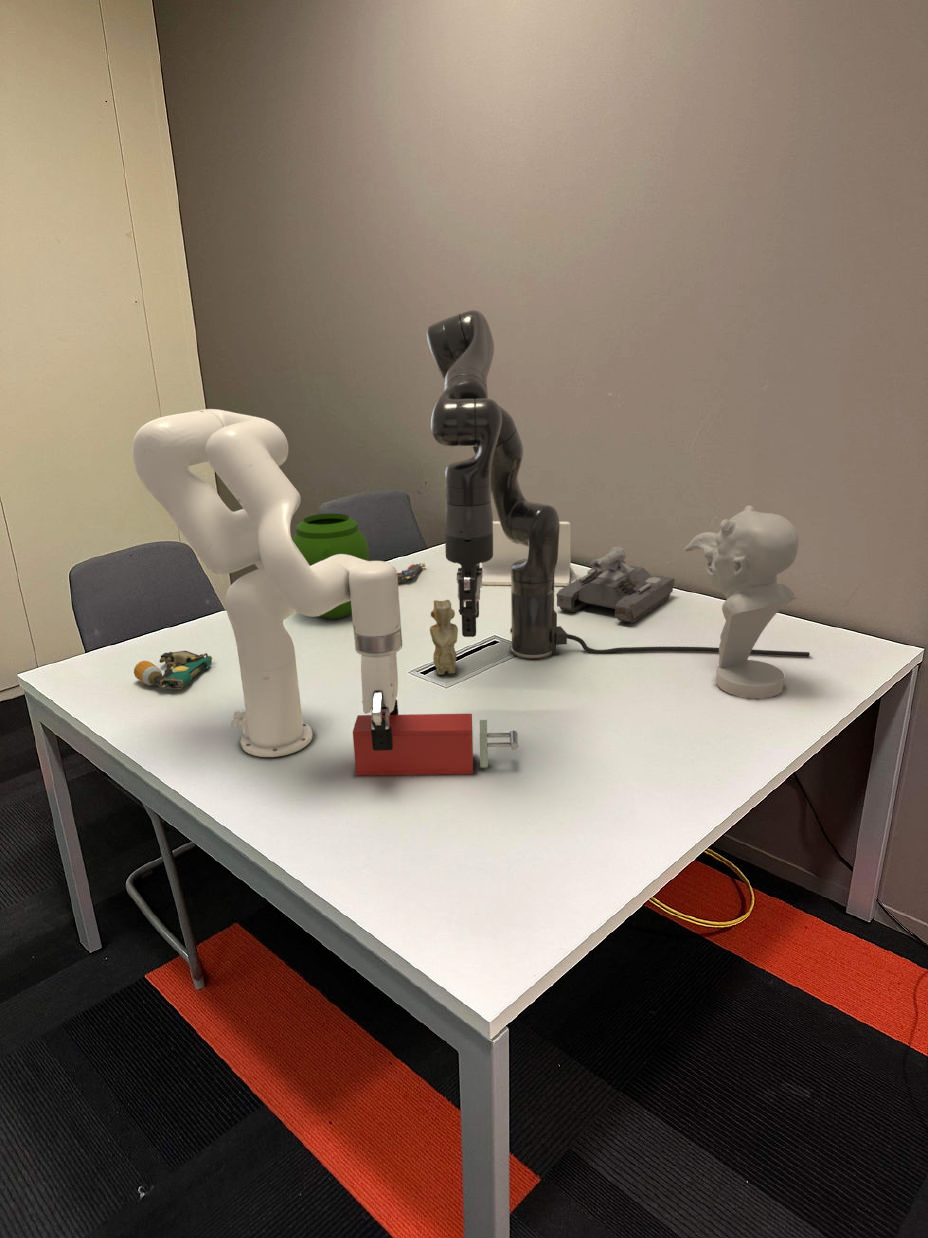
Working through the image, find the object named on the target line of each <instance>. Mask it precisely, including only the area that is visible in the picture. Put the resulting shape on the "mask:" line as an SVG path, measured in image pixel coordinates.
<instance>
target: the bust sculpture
mask: <svg viewBox="0 0 928 1238" xmlns="http://www.w3.org/2000/svg"><path fill="white" fill-rule="evenodd" d="M719 528H720V529H719V531H718V532H713V531H705V532H701V533H699V534H697V535H695V536H694V537H693V538H692V539H691V541H690V542H689V543H688V544H687V545H686V546H685V547H684V551H685V552H692V551H696V550H702V551H703V553H704V557H705V559H706V560H707V561H708V562H707V563H706V564H705V570H706V573H707V576H708V577H709V580H710V581H711V583H712V586H714V588H715V589H717V591H719V592H720V593H721V594H722V595H723V596H724V597H726V600H725V601H724V602H723V604H722V606H721V611H722V615H723V617H724V619H725V622H724V625H723V627H722V631H721V633H720V642H719V645H718V646H719V647H718V648H719V652H718V666H717V668H716V675H715V684H716V685H717V687H718V688H720V690H722V691H723V692H726V693H728V694H731V695H733V696H737V697H740V698H741V697H742V698H748V699H766V698H771V697H775V696H778V695H779V694H781V693H782V692H783V690H784V686H785V685H784V684H785V673H784V672H783V670H782V669H780V668H779V667H777V666H775V665H773V664H771V663H768V662H765V661H760V660H754V659H749V657H750V655H751V654H750V653H751V651H752V649H753V650H754V647H755V645H756V643H757V642H758V640H759V638H760V637H761V634H762V633H763V632H764V631H765V628H766V627H768V624H769V623H770V622H771V620H772V619H773V618H774V617H775V616H776V615H777V614H778V613H779V612H780V611H781V610H782V609H783V608H784V607H786V606H787V605H788V604H790V603H791V602H792V601H795V600H797V599H798V597H797V595H796V594H795V592H794V591H793V590H792V588H791V587H789V586H788V585H786V584H782V583H779V582H778V581H777V580H778V576H777V575H779V574H781V573H783V572H785V571H786V570H788V569H789V568H790V567H791V566H792V565H793V563H794V562H795V560H796V558H797V556H798V551H799V535H798V532H797V530H796V527H795V525H793V524H792V522H791V521H790V520H789V519H787V518H786V517H784V516H783V515H781V514H777V513H770V512H760V511H756V510H755V508H754V506H753V505H746V506H745V507H744V509H743V510H742V511H740V512H739V513H737V514H735V515H733V516H732V517H731V518H730V519H728V518H725V519H723V520H721V521H720V525H719Z"/></svg>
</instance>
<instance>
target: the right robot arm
mask: <svg viewBox="0 0 928 1238" xmlns="http://www.w3.org/2000/svg"><path fill="white" fill-rule="evenodd" d="M426 340H427V344H428V348H429V351H430V354H431V356H432V358H433V360H434V363H435V365H436V367H437V369H438V371H439V373H440V375H441V377H442V379H443V393H442V394H441V395H440V397H439V398H438V400H436V402H435V404H434V406H433V409H432V411H431V412H432V413H431V417H430V430H431V434H432V436H433V439H434V440H435V441H436V442H437V443H438V444H440V445H441V446H443V447H446V448H462V447H463V448H465V447H472V449H473V452H474V455H473V456H471V457H470V458H466V459H463V460H459V461H456V462H452V463H450V464H448V465H447V466H446V468H445V472H444V490H445V491H444V494H445V506H444V507H445V509H444V545H445V547H444V548H445V549H444V550H445V558H446V560H447V561H448V562H450V563H453V564H458V565H460V566H461V567H458V568H457V572H456V583H457V599H458V602H459V609H458V613H459V615H460V616H461V635H462V637H465V638H474V637H476V636H477V618H479V617H480V600H481V589H482V586H483V585H482V577H483V568H482V567H480V566H481V565H480V564H482V563H484V562H487V561H489V560H491V559H492V557H493V521H494V516H493V509H492V508H493V507H492V501H491V500H492V499H493V502H494V507H495V510H496V513H497V516H498V521H500V524H501V527H502V530H503V532H504V534H505V536H506V537H507V539H508V540H510V541H511V542H513V543H515V544H519V545H523V546H528V547H529V554H528V558H527V559H522V560H519V561H516V562H515V563H513V565H512V567H511V585H510V588H511V589H510V597H511V599H510V603H511V604H510V606H511V607H510V609H511V610H510V615H511V617H510V618H511V621H510V622H511V628H510V630H509V633H510V634H509V635H511V643H510V644H511V647H510V651H511V653H512V655H513V656H515V657H518V658H521V659H525V660H526V659H527V660H540V659H545V658H548V657H550V656H552V655H557V654H558V653H557V650H558V649H557V648H558V647H557V646H561V645H562V646H563V645H567V644H568V640H572V641H575V642H577V643H579V644H580V646H581V647H582V649H583V650H584V651H585V652H587V653H589V654H593V655H594V654H595V655H607V654H616V653H639V652H641V653H643V652H698V653H699V652H702V653H703V652H704V653H719V647H712V646H711V647H710V646H707V647H706V646H632V647H631V646H629V647H626V646H624V647H614V648H606V649H596V648H595V649H594V648H591V647H589V646H588V645H587V642H585V640H584V639H582V638H581V637H579V636H576V635H573V634H569V633H567V632H566V631H565V629H564V628H563V627H562V626H561V625H558V613H557V612H556V611H555V586H554V572H555V568H556V564H557V560H558V544H559V529H560V525H559V522H560V517H559V514H558V511H557V509H556V508H555V507H554V506H552V505H549V504H547V503H546V504H545V503H539V502H533V501H528V500H527V499H526V498H525V496H524V494H523V492H522V490H521V487H520V484H519V480H518V476H519V473H520V470H521V469H520V468H521V465H522V461H523V457H524V446H523V443H522V439H521V436H520V434H519V431H518V428H517V426H516V423H515V421H514V418H513V417H512V415H511V414H510V413H509V412H508V411H507V410H506V409H504V408H503V407H502V406H500V405H499V404H498V403H497V401H495V400H494V399H492V398H489V393H488V392H489V391H488V376H489V372H490V369H491V366H492V363H493V359H494V353H495V343H494V338H493V334H492V331H491V328H490V324H489V323H488V321H487V319H486V317H485V315H484V314H483V313H482V312H481V311H479V310H477V309H471V310H467V311H463V312H461V313H458V314H455V315H453V316H450V317H447V318H445V319H442V320H439V321H437V322H435V323H433V324H430V325H429V326H428V327H427V330H426ZM750 655H761V656H779V657H783V656H784V657H806V658H810V655H811V654H810V651H793V650H791V651H789V650H768V649H754V648H753V649H752V651H751V653H750Z"/></svg>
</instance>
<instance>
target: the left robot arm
mask: <svg viewBox="0 0 928 1238" xmlns="http://www.w3.org/2000/svg"><path fill="white" fill-rule="evenodd" d="M288 455H289V442H288V439H287V437H286V435H285V433H284V431H282V429H281V428H280V427H279V426H278V425H277V424H275V423H274V422H272V421H270V420H268V419H266V418H263V417H258V416H254V415H248V414H243V413H237V412H234V411H230V410H229V411H228V410H223V409H216V408H205V409H199V410H194V411H188V412H183V413H182V412H181V413H176V414H175V413H174V414H169V415H166V416H165V415H164V416H161V417H157V418H155V419H153V420H150V421H148V422H146V423H145V424H143V425H142V426H140V428H139V429H138V430H137V432H136V434H135V435H134V437H133V442H132V459H133V465H134V468H135V471H136V473H137V476H138V478H139V479H140V481H141V483H142V484H143V486H144V488H146V489H147V491H148V492H149V493H150V494H151V495H152V496H153V498H154V499H155V500H156V502H158V503H159V504H160V505H161V506H162V508H163V509H164V510H165V511H166V512H167V514H168V515H169V516H170V517H171V519H172V520H173V521H174V523H175V524H176V526H177V528H178V529H179V531H180V532H181V533H182V535H183V537H184V538H185V539H186V540H187V542H188V543H189V545H190V546H191V549H193V551H194V552H195V554H196V555H197V556H198V558H199V559H200V561H201V562H202V563H203V565H204V566H205V567H206V568H207V569H208V570H209V571H211V572H212V573H214V574H216V575H221V576H222V575H229V574H233V573H235V572H238V571H241V570H243V569H245V568H247V567H250V566H252V565H255V567H256V569H254V570H253V571H250V572H248V573H246V574H244V575H242V576H240V577H239V578H237V579H236V580H234V582H232V584H231V585H230V586H229V587H228V589H227V591H226V594H225V598H224V604H225V611H226V614H227V617H228V620H229V623H230V625H231V628H232V631H233V635H234V639H235V643H236V650H237V656H238V663H239V671H240V678H241V685H242V692H243V701H244V708H245V709H244V710H245V711H242V710H235V711H234V712H233V716H232V718H233V719H232V721H231V724H230V725H231V727H233V728H239V729H240V728H241V729H242V731H243V733H242V735H241V737H240V746H241V748H242V750H243V751H244V752H245V753H248V754H249V755H252V756H254V757H260V758H276V757H283V756H288V755H291V754H294V753H296V752H299V751H301V750H302V749H304V748H306V747H307V746H308V745H309V744H310V743H311V741H312V739H313V735H314V734H313V728H312V727H311V725H309V724H308V723H306V722H305V721H303V715H302V706H301V704H302V703H301V697H300V687H299V676H298V669H297V668H298V667H297V658H296V650H295V645H294V641H293V639H292V637H291V635H290V634H289V632H288V631H287V630H286V627H285V625H284V621H285V620H286V619H287V618H289V617H290V616H292V615H294V614H295V613H299V614H301V615H303V616H305V617H320V615H322V614H324V613H326V612H328V611H330V610H332V609H333V608H335V607H337V606H339V605H340V604H343V603H346V602H349V601H351V608H352V612H351V618H352V627H353V639H354V649H355V652H356V653H357V654H358V655H361V656H360V676H361V677H360V678H361V698H362V712H363V713H364V715H368V714H370V713H371V714H370V715H371V735H372V746H373V750H374V751H381V750H392V749H393V741H392V729H391V726H389V715H399V708H398V707H399V706H398V699H397V697H398V690H399V676H398V660H397V653H398V652H399V651H401V650H402V649H403V635H402V620H401V619H402V618H401V608H400V607H401V606H400V591H399V582H398V577H397V573H398V571H397V569H396V566H394V565H393V564H392V563H391V562H388V561H383V560H369V561H366V560H363V559H360V558H357V557H354V556H351V555H346V554H337V555H334V556H331V557H329V558H327V559H325V560H323V561H320V562H318V563H316V564H314V565H311V566H310V565H309V564H308V562H307V561H306V559H305V558H304V556H303V555H302V553H301V552H300V551H299V549H298V548H297V546H296V545H295V543H294V542H293V541H292V538H293V537H292V534H291V533H292V532H291V524H292V523H291V522H292V519H293V516H294V515H295V513H296V512H297V511H298V509H299V507H300V505H301V502H302V497H301V495H300V492H299V491H298V490H297V488H296V487H295V486H294V484H292V482H291V481H290V479H289V478H288V477H287V476H286V474H285V473H284V472H283V470H282V469H281V468H280V466H282V465H283V464H284V463H285V462H286V460H287V459H288ZM206 462H208V463H209V465H210V467H211V469H213V471H214V472H215V474H216V475H217V476H218V478H219V479H220V480H221V481H222V483H223V484H224V486H225V487H226V488H227V489H228V490H229V492H230V493H231V494H232V496H233V497H234V498H235V500H236V501H237V502H238V503H239V505H240V506H241V507H242V508H241V509H238V510H236V511H235V510H234V511H232V509H230V508H229V507H228V506H227V505H226V503H225V502H224V501H223V500H222V498H221V497H220V495H219V494H218V492H217V490H216V489H214V487H213V486H211V484H210V483H209V482H207V481H206V480H205V479H203V478H202V477H200V476H199V475H197V474H195V473H193V472H192V471H191V470H190V469H189V467H190V466H194V465H198V464H203V463H206ZM382 715H385V720H384V718H382Z"/></svg>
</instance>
